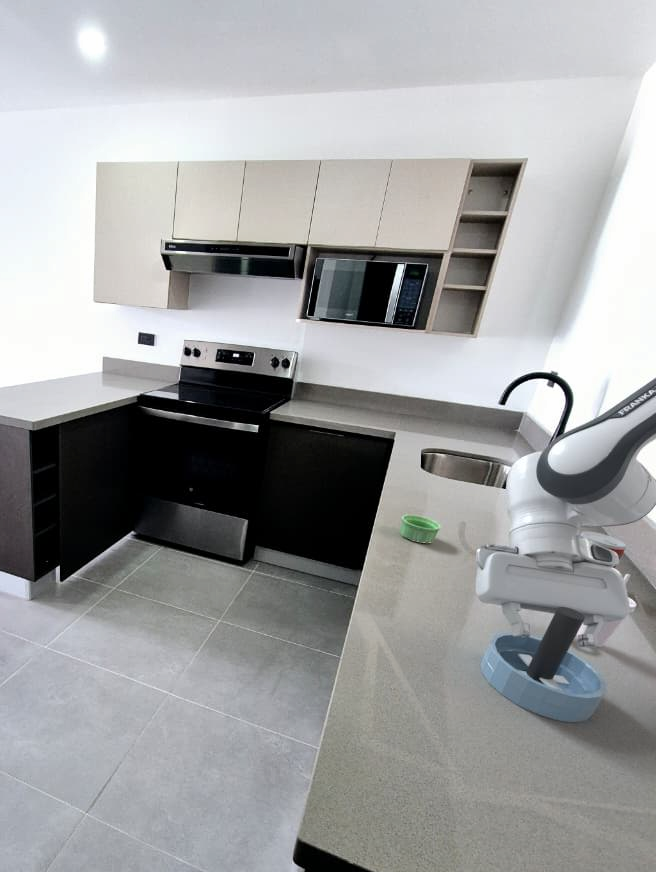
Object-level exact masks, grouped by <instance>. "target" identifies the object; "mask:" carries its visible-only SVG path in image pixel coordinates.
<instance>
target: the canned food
mask: <svg viewBox="0 0 656 872" xmlns="http://www.w3.org/2000/svg"><path fill="white" fill-rule="evenodd" d="M579 536H583V537H585V538H586V539H588V540H590V541H592V542H594V543H596V544H598V545H600V546H603V547H605V548H607V549H610V550H612V551H614V552H616V553H617V554H618V557H619V561H620V560H621V558H622V556H623V554H624V552H625V550H626V547H627V544H626V543H625V542H623V541H622V540H620V539H618V538H615V537H614V536H610V535H608V534H604V533H601V532H596V531H587V530H585V531H582V532H581V533H580V534H579ZM616 567H617V565H616V566H613V568H615V569H616Z"/></svg>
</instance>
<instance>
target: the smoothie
mask: <svg viewBox="0 0 656 872" xmlns="http://www.w3.org/2000/svg"><path fill="white" fill-rule="evenodd" d="M630 577H631V574H630V573H626V574H625V575H624V577H623V579H624V582H625V585H627V583H628V581H629V579H630ZM628 599H629V605H630V611H629V613H628V615H629V614H630V613H631V612H634V611H636V610H635V609H636V608H637V603H636V601H634V600H633V599H632V598H631V597H629V596H628ZM626 618H627V616H626V617H625V618H624V619H620V620H616V621H611V622H604V625H603V627H602V628H601V630H600V632H599V634H598V635H597V638H598V647H597V648H602V647H603V646H604V645H605V644H606V643H607V641H608V640H609V639H610V637H611V636H612V635H613V634H614V633H615V632H616V630H617V629H618V628H619V627H620V625H621V624H622V623H623V622H624V620H625V619H626ZM586 628H587V625H583V623H582V625H581V627H580V629H579V631H578V633H577V634H576V638H577V639H578V635H580V634H584V632H585V630H586Z"/></svg>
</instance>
